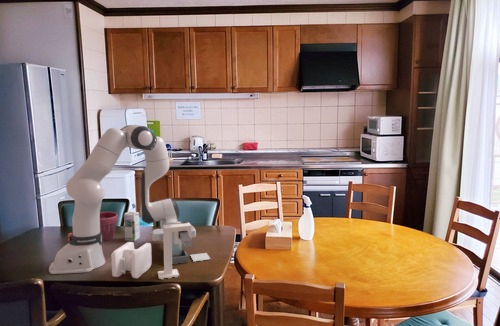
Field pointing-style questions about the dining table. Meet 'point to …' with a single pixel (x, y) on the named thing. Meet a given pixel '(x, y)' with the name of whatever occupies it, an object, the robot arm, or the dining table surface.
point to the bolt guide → (167, 238)
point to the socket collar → (180, 258)
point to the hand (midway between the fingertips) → (176, 239)
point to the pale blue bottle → (176, 248)
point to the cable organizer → (131, 260)
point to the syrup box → (132, 226)
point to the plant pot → (108, 224)
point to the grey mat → (200, 257)
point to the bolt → (185, 238)
